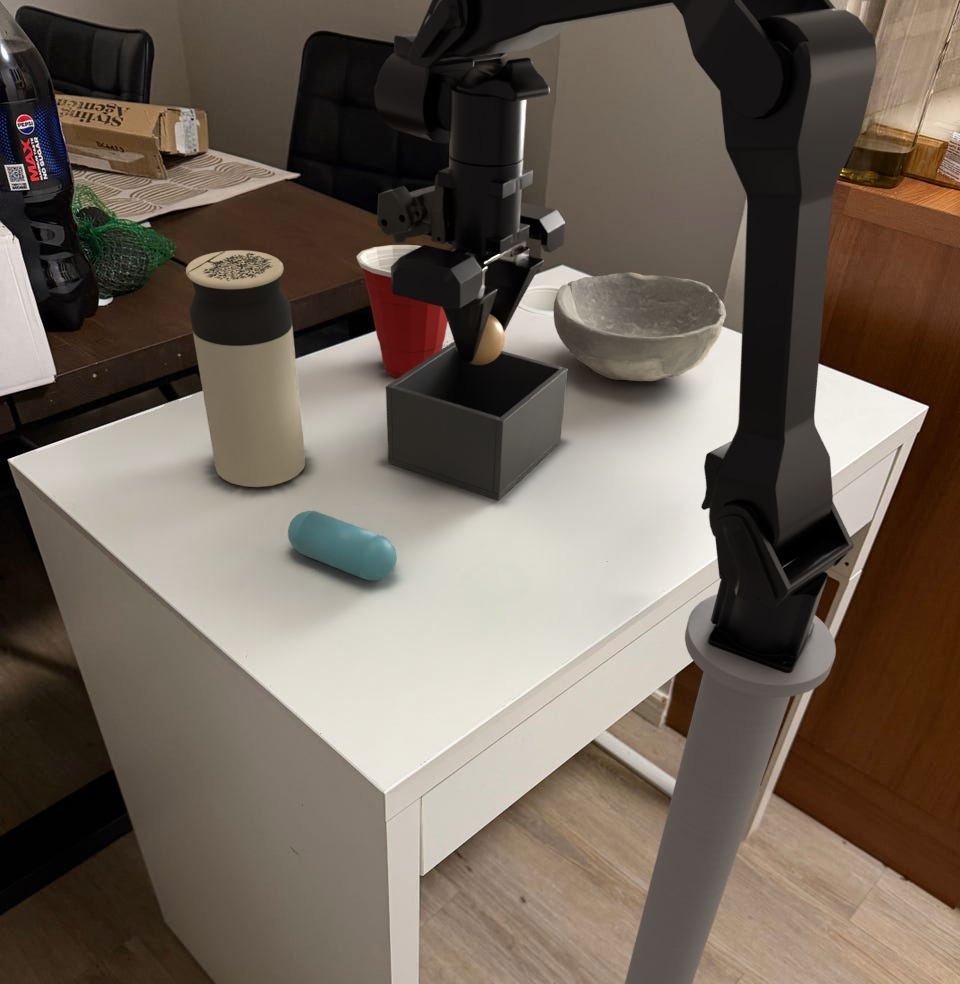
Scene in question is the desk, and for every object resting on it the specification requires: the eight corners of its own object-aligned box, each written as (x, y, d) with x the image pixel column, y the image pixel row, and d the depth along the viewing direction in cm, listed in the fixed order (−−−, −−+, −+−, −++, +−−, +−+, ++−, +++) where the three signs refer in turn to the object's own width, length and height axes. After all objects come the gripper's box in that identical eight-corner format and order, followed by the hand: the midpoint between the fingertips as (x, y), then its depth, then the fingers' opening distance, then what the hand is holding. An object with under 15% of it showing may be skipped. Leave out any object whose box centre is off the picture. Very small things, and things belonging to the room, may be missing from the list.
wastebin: (560, 443, 91) (567, 368, 86) (498, 500, 83) (503, 421, 78) (456, 411, 96) (457, 338, 91) (388, 463, 87) (385, 386, 82)
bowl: (519, 377, 102) (523, 303, 97) (592, 324, 113) (600, 256, 108) (674, 424, 95) (688, 347, 90) (736, 362, 107) (751, 291, 101)
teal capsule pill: (406, 571, 75) (405, 533, 72) (380, 595, 72) (378, 557, 70) (308, 534, 78) (305, 497, 76) (280, 555, 76) (276, 518, 74)
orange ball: (512, 359, 84) (515, 311, 81) (487, 377, 81) (489, 327, 78) (469, 348, 86) (471, 299, 83) (444, 365, 83) (444, 316, 80)
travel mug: (323, 459, 87) (306, 260, 76) (269, 499, 82) (242, 292, 70) (254, 437, 90) (227, 242, 78) (197, 474, 85) (160, 270, 73)
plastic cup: (476, 356, 106) (479, 245, 98) (441, 398, 98) (442, 280, 90) (386, 340, 108) (382, 231, 100) (345, 379, 100) (337, 264, 92)
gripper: (459, 118, 82) (456, 298, 92) (327, 165, 69) (340, 367, 80) (575, 138, 78) (559, 324, 88) (457, 192, 65) (454, 401, 76)
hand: (479, 351), depth 83 cm, fingers closed on orange ball, 4 cm apart
